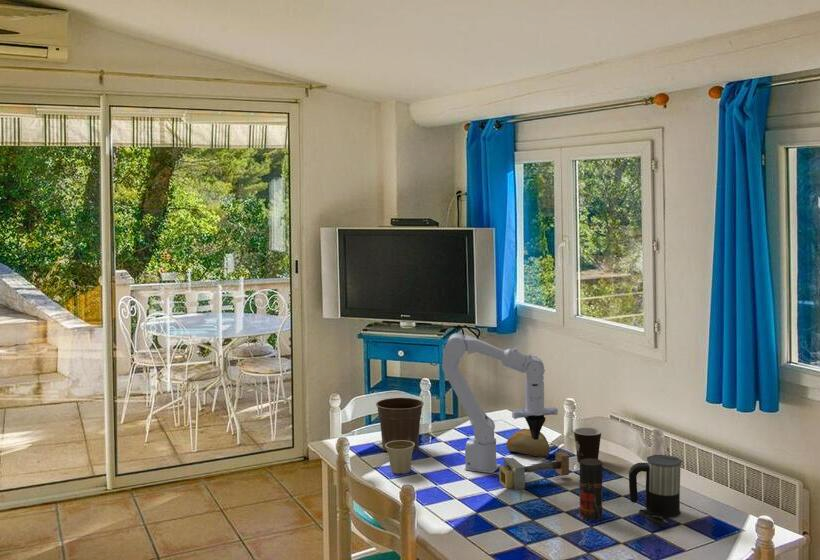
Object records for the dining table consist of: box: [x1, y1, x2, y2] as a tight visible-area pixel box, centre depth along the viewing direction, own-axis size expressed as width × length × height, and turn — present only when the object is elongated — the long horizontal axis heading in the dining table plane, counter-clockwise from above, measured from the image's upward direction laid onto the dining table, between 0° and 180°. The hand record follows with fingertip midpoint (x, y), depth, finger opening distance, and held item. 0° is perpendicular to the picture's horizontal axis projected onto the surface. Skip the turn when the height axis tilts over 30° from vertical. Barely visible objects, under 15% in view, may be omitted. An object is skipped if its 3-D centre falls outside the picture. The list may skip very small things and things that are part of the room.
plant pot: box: [375, 397, 424, 452], centre depth 295 cm, size 16×16×16 cm
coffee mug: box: [573, 427, 602, 464], centre depth 279 cm, size 12×9×10 cm
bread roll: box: [505, 428, 550, 458], centre depth 287 cm, size 10×15×8 cm, turn 61°
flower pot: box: [385, 440, 415, 475], centre depth 272 cm, size 9×9×9 cm
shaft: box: [522, 451, 570, 477], centre depth 261 cm, size 16×4×6 cm, turn 105°
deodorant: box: [579, 458, 603, 521], centre depth 232 cm, size 6×6×15 cm
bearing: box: [503, 457, 526, 490], centre depth 258 cm, size 3×9×6 cm, turn 15°
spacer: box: [498, 465, 514, 489], centre depth 258 cm, size 2×6×5 cm, turn 15°
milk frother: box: [628, 454, 683, 528], centre depth 230 cm, size 14×16×15 cm
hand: (535, 438), depth 270 cm, fingers closed
